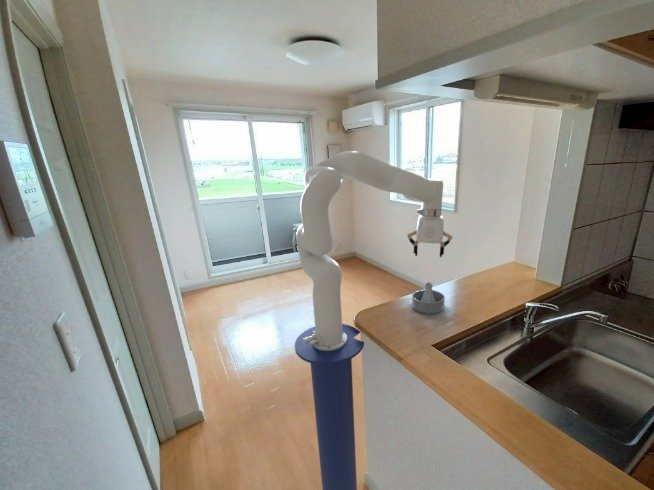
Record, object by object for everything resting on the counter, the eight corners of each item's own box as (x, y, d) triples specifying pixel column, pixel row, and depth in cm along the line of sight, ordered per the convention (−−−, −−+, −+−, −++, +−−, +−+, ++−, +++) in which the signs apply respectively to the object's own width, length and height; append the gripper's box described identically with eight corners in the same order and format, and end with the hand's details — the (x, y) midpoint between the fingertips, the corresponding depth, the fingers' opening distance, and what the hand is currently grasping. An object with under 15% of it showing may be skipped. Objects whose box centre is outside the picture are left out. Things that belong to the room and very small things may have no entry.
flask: (416, 306, 131) (416, 284, 128) (423, 300, 137) (424, 279, 134) (432, 311, 128) (433, 288, 124) (439, 304, 133) (440, 282, 130)
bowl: (427, 317, 124) (428, 306, 122) (405, 305, 134) (405, 294, 132) (450, 308, 131) (451, 297, 129) (427, 297, 141) (428, 287, 140)
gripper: (407, 213, 117) (405, 257, 122) (455, 215, 114) (451, 259, 119) (408, 210, 124) (407, 252, 129) (453, 211, 121) (449, 254, 126)
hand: (428, 255), depth 124 cm, fingers open, 9 cm apart
